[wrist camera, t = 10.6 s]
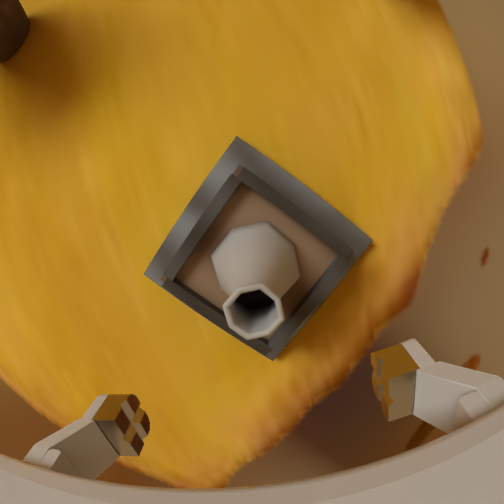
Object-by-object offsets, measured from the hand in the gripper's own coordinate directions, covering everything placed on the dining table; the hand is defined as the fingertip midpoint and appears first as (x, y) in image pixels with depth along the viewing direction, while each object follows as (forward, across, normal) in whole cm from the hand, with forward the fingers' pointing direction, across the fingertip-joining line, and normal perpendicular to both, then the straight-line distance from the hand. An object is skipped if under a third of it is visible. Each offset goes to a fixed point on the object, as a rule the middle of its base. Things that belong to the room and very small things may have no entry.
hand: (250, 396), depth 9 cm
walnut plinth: (+21, 0, 0) cm, 21 cm away
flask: (+17, 0, 0) cm, 17 cm away
